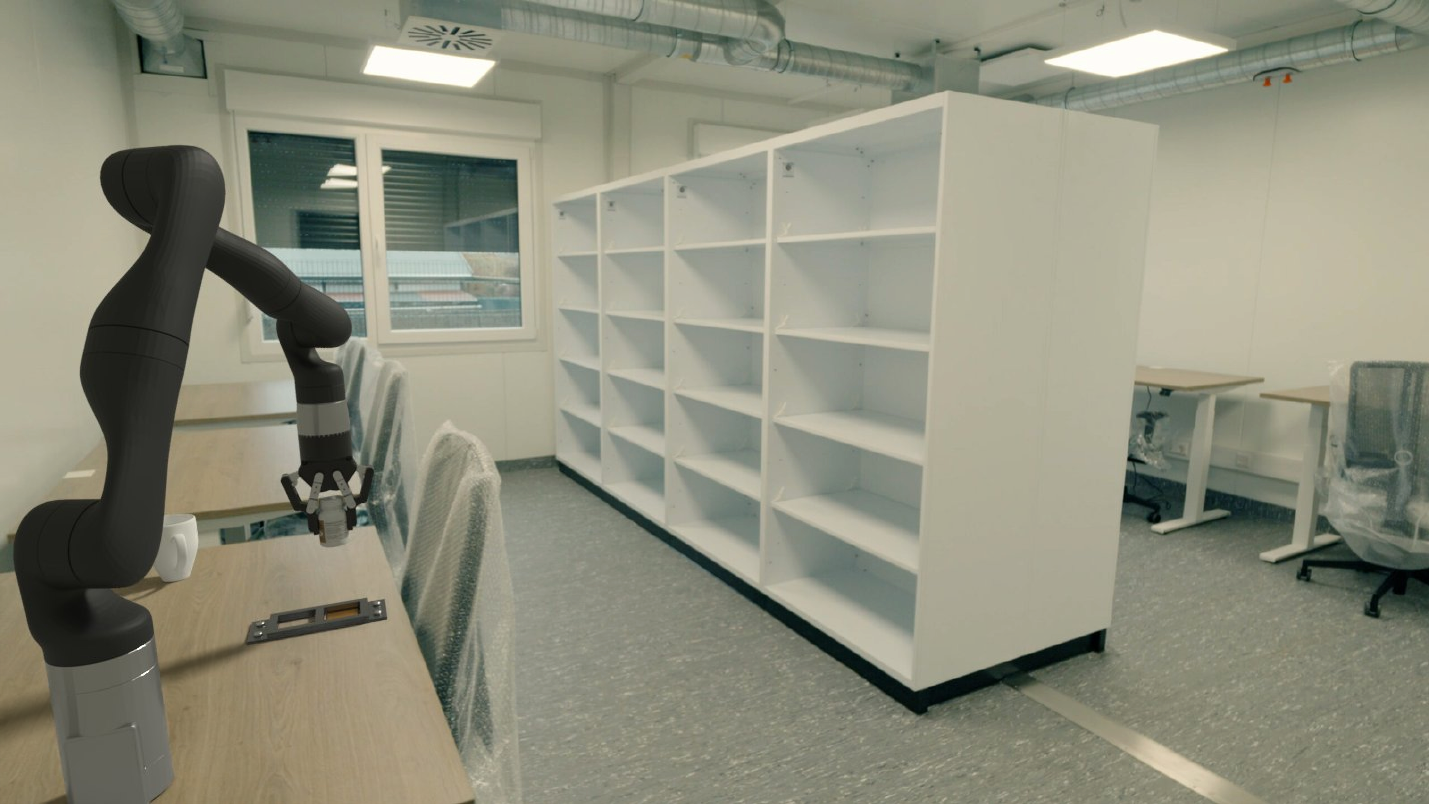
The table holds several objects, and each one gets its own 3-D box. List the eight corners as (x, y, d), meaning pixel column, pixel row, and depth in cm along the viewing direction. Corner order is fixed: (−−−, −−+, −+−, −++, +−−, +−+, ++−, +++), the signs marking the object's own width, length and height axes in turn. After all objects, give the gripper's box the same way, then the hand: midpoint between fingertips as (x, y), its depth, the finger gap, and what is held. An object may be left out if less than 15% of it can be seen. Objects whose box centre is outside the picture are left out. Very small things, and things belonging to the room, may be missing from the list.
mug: (144, 578, 145) (136, 520, 143) (196, 566, 151) (189, 510, 149) (160, 595, 137) (151, 534, 135) (213, 582, 143) (206, 523, 141)
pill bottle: (320, 541, 126) (315, 496, 125) (349, 537, 128) (345, 492, 127) (319, 549, 122) (314, 503, 121) (349, 545, 124) (345, 499, 123)
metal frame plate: (387, 618, 127) (386, 612, 127) (247, 644, 118) (246, 637, 118) (384, 601, 134) (384, 594, 134) (252, 624, 125) (251, 617, 125)
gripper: (270, 437, 116) (282, 545, 119) (373, 428, 122) (382, 531, 125) (274, 428, 122) (285, 531, 125) (372, 420, 129) (380, 518, 131)
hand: (333, 530), depth 125 cm, fingers closed on pill bottle, 4 cm apart
